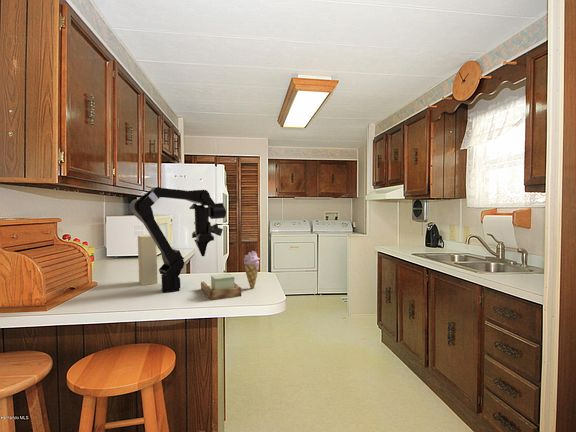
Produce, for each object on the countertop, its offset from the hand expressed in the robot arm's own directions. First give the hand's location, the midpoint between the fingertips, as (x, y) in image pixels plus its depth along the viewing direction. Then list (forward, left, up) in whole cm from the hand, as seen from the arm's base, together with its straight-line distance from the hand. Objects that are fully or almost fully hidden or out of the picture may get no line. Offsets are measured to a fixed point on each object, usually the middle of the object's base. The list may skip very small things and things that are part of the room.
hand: (203, 256), depth 149 cm
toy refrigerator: (-21, +15, -12) cm, 29 cm away
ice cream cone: (+16, -18, -12) cm, 27 cm away
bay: (+3, -17, -12) cm, 21 cm away
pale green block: (+3, -21, -11) cm, 24 cm away
